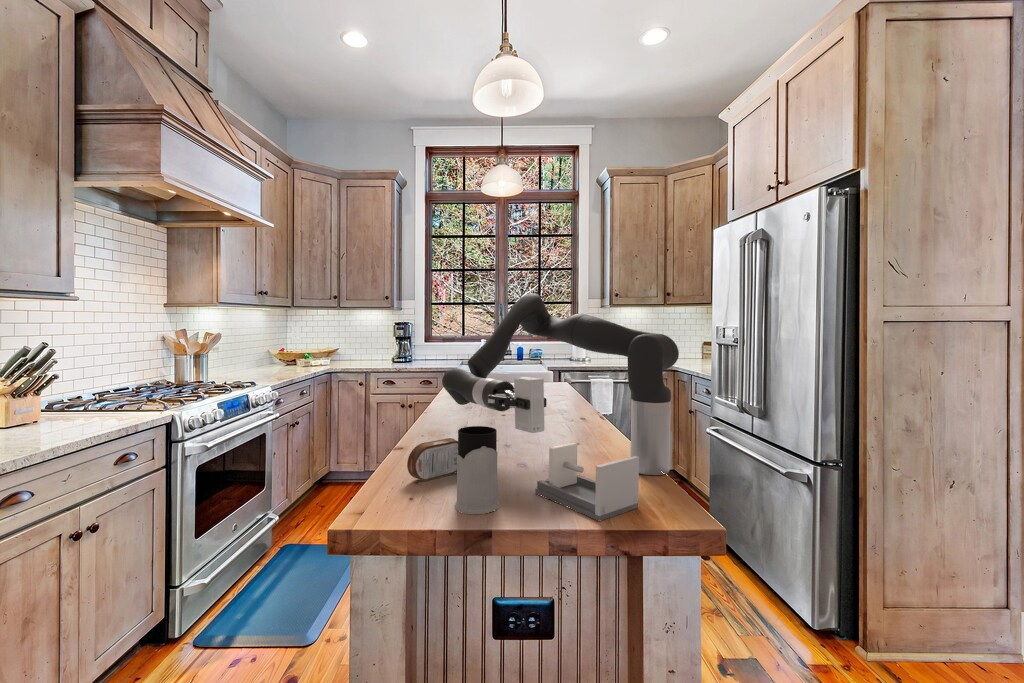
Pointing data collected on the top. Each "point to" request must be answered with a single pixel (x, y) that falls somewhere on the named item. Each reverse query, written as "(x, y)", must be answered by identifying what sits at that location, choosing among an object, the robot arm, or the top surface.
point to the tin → (433, 459)
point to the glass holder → (477, 470)
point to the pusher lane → (599, 490)
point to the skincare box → (535, 393)
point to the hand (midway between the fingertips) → (537, 403)
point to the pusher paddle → (563, 465)
